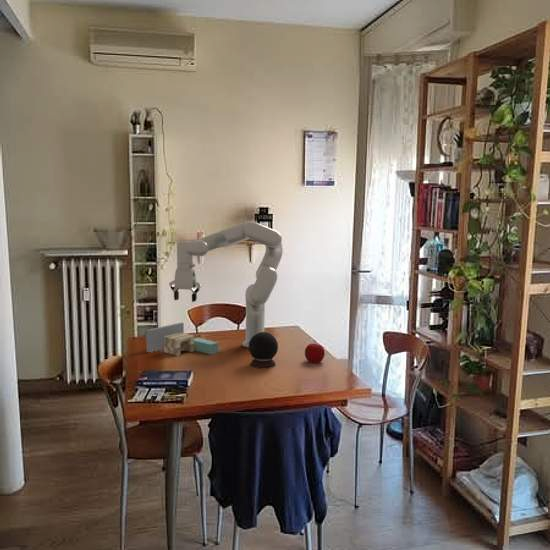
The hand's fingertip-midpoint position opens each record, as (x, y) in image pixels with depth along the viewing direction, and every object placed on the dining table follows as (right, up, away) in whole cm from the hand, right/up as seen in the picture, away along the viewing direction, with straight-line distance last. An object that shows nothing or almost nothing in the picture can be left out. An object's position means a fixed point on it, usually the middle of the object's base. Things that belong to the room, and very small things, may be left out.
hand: (185, 300), depth 262 cm
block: (-2, -25, -4) cm, 25 cm away
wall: (-10, -24, +2) cm, 26 cm away
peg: (+10, -25, -1) cm, 27 cm away
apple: (+62, -28, -16) cm, 70 cm away
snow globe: (+39, -28, -22) cm, 53 cm away
